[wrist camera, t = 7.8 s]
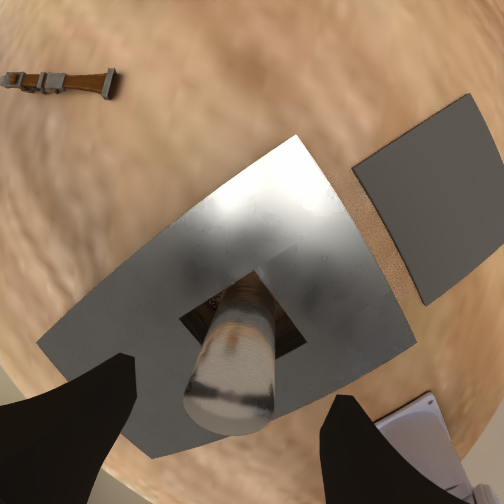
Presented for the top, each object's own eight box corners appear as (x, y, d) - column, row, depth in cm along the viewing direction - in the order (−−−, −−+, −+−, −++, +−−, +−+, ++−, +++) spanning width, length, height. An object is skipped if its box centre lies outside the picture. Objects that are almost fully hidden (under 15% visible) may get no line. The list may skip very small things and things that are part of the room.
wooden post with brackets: (22, 77, 14) (-2, 65, 10) (119, 81, 17) (114, 66, 13) (16, 100, 15) (-9, 93, 11) (113, 105, 18) (106, 96, 14)
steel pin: (284, 303, 18) (289, 421, 9) (240, 323, 19) (215, 442, 10) (259, 261, 18) (245, 360, 8) (215, 283, 18) (165, 389, 9)
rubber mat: (519, 224, 15) (522, 225, 15) (423, 304, 18) (425, 306, 17) (466, 94, 14) (470, 93, 13) (351, 168, 16) (353, 168, 15)
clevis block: (393, 309, 18) (417, 342, 14) (165, 424, 22) (152, 459, 18) (290, 142, 16) (295, 134, 12) (65, 317, 20) (35, 342, 16)
